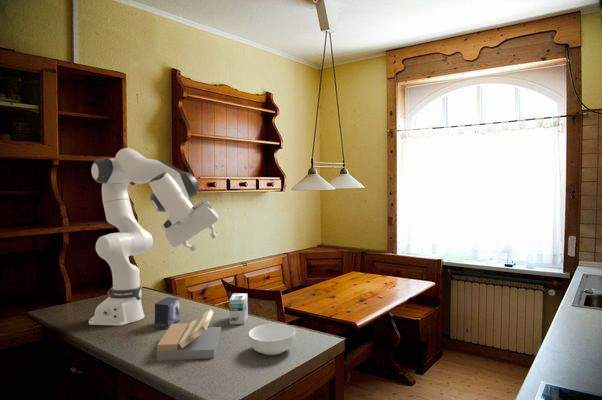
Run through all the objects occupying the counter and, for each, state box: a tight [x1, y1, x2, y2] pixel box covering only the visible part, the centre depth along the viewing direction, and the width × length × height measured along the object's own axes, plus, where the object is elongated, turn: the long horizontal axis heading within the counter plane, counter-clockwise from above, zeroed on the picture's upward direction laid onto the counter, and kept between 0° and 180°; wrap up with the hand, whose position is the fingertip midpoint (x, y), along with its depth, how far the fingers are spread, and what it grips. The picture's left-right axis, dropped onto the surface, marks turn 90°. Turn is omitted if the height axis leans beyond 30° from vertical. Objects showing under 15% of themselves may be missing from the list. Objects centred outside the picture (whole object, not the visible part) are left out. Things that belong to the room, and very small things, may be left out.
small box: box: [154, 296, 181, 330], centre depth 171 cm, size 11×6×10 cm, turn 168°
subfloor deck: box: [156, 322, 222, 362], centre depth 147 cm, size 19×22×5 cm
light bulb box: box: [228, 292, 249, 325], centre depth 175 cm, size 11×7×11 cm, turn 0°
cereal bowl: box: [248, 323, 297, 356], centre depth 143 cm, size 17×17×7 cm
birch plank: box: [179, 308, 214, 348], centre depth 147 cm, size 10×20×2 cm
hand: (204, 243), depth 148 cm, fingers open, 8 cm apart
